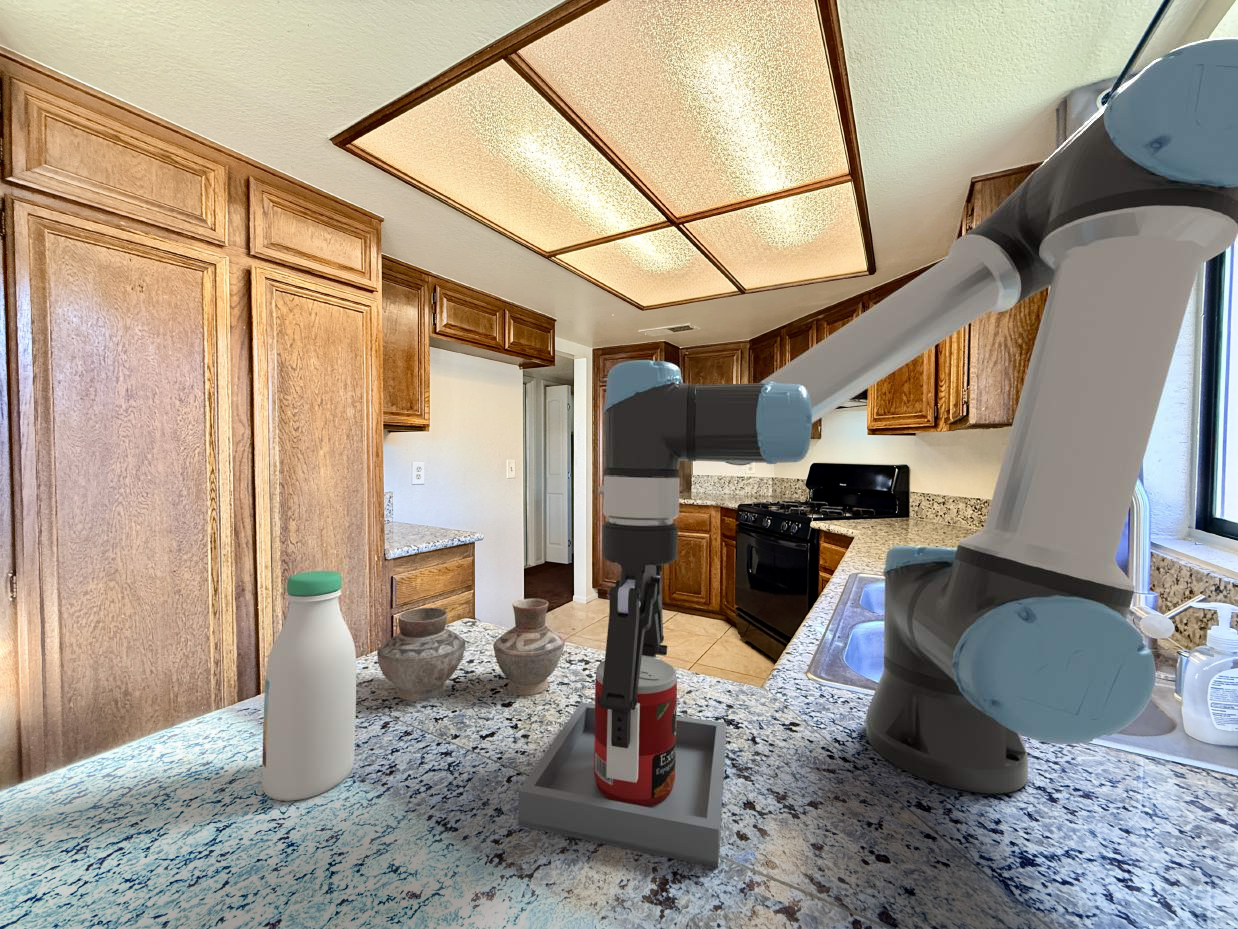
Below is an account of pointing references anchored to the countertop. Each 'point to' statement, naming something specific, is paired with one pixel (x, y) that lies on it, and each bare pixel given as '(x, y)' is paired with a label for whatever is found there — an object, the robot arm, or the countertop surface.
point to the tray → (669, 828)
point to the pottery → (436, 652)
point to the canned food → (643, 737)
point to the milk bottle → (309, 693)
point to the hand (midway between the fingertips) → (635, 743)
